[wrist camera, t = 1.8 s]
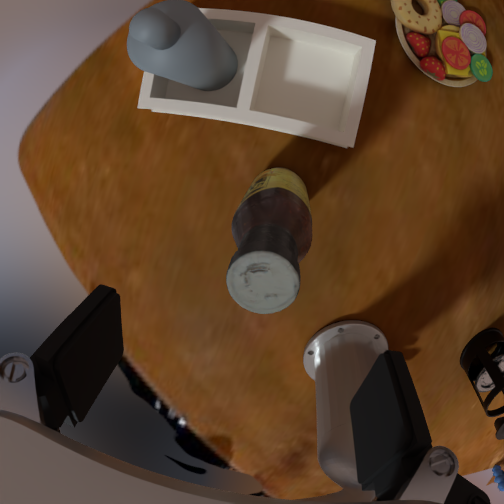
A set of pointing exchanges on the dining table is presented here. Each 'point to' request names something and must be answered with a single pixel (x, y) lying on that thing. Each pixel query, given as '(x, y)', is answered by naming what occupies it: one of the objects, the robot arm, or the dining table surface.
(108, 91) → the dining table surface
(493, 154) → the dining table surface
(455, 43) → the toy food set
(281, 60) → the condiment caddy
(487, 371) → the french press
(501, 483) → the grapes
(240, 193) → the dining table surface
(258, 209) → the sauce bottle
